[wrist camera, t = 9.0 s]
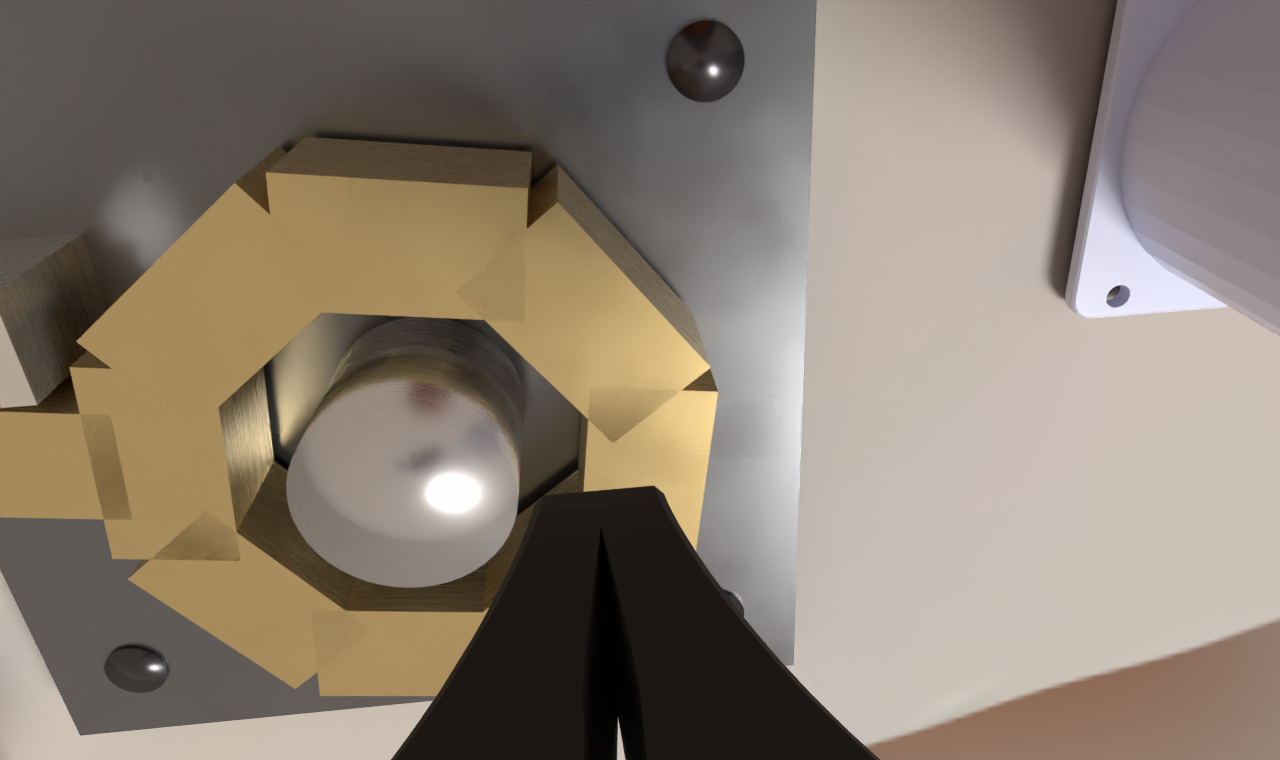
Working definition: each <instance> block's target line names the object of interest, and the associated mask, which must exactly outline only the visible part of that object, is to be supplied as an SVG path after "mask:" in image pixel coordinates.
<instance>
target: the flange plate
mask: <svg viewBox="0 0 1280 760" xmlns="http://www.w3.org/2000/svg"><path fill="white" fill-rule="evenodd" d="M815 28H816V0H0V408H8V407H20V406H32V405H38V404H39V403H40V402H41V401H42V400H43V399H44V398H45V397H46V396H48V395H49V394H50V393H51V392H52V391H53V390H54V389H55V388H56V387H57V386H58V385H59V384H60V383H61V382H62V381H64V380H65V379H66V378H67V377H68V376H69V375H70V374H71V372H70V368H69V367H70V366H71V365H72V364H73V363H75V362H76V361H77V360H78V359H79V358H80V357H81V356H82V355H83V354H84V353H85V352H86V351H88V350H86V349H85V348H84V347H82V346H81V345H80V344H78V343H77V342H76V341H77V340H78V339H79V338H80V337H81V336H82V335H83V334H84V333H85V332H86V331H87V330H88V329H89V328H90V327H91V326H92V325H93V324H94V323H95V322H96V321H97V320H98V319H99V318H100V317H101V316H102V315H103V314H104V313H105V312H106V311H107V310H108V309H109V308H110V307H111V306H112V305H113V304H114V303H115V302H116V301H117V300H118V299H119V298H120V297H121V296H122V295H123V294H124V293H125V292H126V291H127V290H128V289H129V288H130V287H131V286H132V285H133V284H134V283H135V282H136V281H137V280H138V279H139V278H140V277H141V276H142V275H143V274H144V273H145V272H146V271H147V270H148V269H149V268H150V267H151V266H152V265H153V264H154V263H155V262H156V261H157V260H158V259H159V258H160V257H161V256H162V255H163V254H164V253H165V252H166V251H167V250H168V249H169V248H170V247H171V246H172V245H173V244H174V243H175V242H176V241H177V240H178V239H179V238H180V237H181V236H182V235H183V234H184V233H185V232H186V231H187V230H188V229H189V228H190V227H191V226H192V225H193V224H194V223H195V222H196V221H197V220H198V219H199V218H200V217H201V216H202V215H203V214H204V213H205V212H206V211H207V210H208V209H209V208H210V207H211V206H212V205H213V204H214V203H215V202H216V201H217V200H218V199H219V198H220V197H221V196H222V195H223V194H224V193H225V192H226V191H227V190H228V189H229V188H230V187H231V186H232V185H233V184H234V183H235V182H236V181H237V180H239V179H240V178H241V177H242V176H243V175H245V174H246V173H247V172H248V171H250V170H251V169H252V168H253V167H254V166H256V165H257V164H258V163H259V162H261V161H262V160H263V159H264V158H265V157H267V156H268V155H269V154H270V153H271V152H273V151H274V150H275V149H276V148H278V147H279V146H280V147H281V148H282V149H283V150H284V151H285V152H286V153H288V152H290V151H291V150H292V149H293V148H294V147H295V146H296V145H298V144H299V143H300V142H301V141H302V140H303V139H304V138H306V137H314V138H330V139H345V140H360V141H375V142H390V143H406V144H421V145H436V146H451V147H466V148H482V149H497V150H512V151H527V152H532V172H531V188H532V187H533V186H534V185H535V184H536V183H537V182H538V181H539V180H541V179H542V178H543V177H544V176H545V175H546V174H547V173H548V172H550V171H551V170H552V169H553V168H554V167H555V166H556V165H557V164H558V165H559V166H560V167H561V168H562V169H563V170H564V171H565V172H566V174H567V175H568V176H569V177H570V178H571V179H572V180H573V181H574V182H575V183H576V185H577V186H578V187H579V188H580V189H581V190H582V191H583V192H584V193H585V195H586V196H587V197H588V198H589V199H590V200H591V201H592V202H593V203H594V204H595V206H596V207H597V208H598V209H599V210H600V211H601V212H602V213H603V214H604V216H605V217H606V218H607V219H608V220H609V221H610V222H611V223H612V224H613V225H614V227H615V228H616V229H617V230H618V231H619V232H620V233H621V234H622V235H623V237H624V238H625V239H626V240H627V241H628V242H629V243H630V244H631V245H632V246H633V248H634V249H635V250H636V251H637V252H638V253H639V254H640V255H641V256H642V258H643V259H644V260H645V261H646V262H647V263H648V264H649V265H650V266H651V267H652V269H653V270H654V271H655V272H656V273H657V274H658V275H659V276H660V277H661V279H662V280H663V281H664V282H665V283H666V284H667V285H668V286H669V287H670V288H671V290H672V291H673V292H674V293H675V294H676V295H677V296H678V297H679V298H680V300H681V301H682V302H683V303H684V304H685V305H686V306H687V307H688V308H689V309H690V311H691V312H692V313H693V316H694V319H695V322H696V325H697V328H698V331H699V334H700V337H701V340H702V343H703V346H704V349H705V352H706V355H707V358H708V361H709V364H710V367H711V368H710V369H711V372H712V375H713V378H714V381H715V384H716V387H717V390H718V396H717V403H716V411H715V418H714V425H713V432H712V439H711V446H710V454H709V461H708V468H707V475H706V482H705V490H704V497H703V504H702V511H701V518H700V525H699V533H698V540H697V547H696V552H697V554H698V555H699V557H700V558H701V560H702V561H703V563H704V564H705V566H706V567H707V568H708V570H709V571H710V573H711V574H712V576H713V577H714V578H715V580H716V581H717V582H718V584H719V585H720V586H721V588H722V589H723V590H724V592H725V593H726V594H727V596H728V597H729V598H730V600H731V601H732V602H733V604H734V605H735V606H736V608H737V609H738V610H739V612H740V613H741V614H742V615H743V617H744V618H745V619H746V620H747V622H748V623H749V624H750V625H751V627H752V628H753V629H754V630H755V632H756V633H757V634H758V635H759V636H760V637H761V639H762V640H763V641H764V642H765V643H766V644H767V646H768V647H769V648H770V649H771V650H772V651H773V653H774V654H775V655H776V656H777V657H778V658H779V659H780V661H781V662H782V663H783V664H784V665H785V666H787V665H793V661H794V632H795V603H796V574H797V546H798V517H799V488H800V459H801V431H802V402H803V373H804V344H805V316H806V287H807V258H808V229H809V201H810V172H811V143H812V114H813V86H814V57H815ZM263 369H264V378H265V386H266V395H267V403H268V412H269V420H270V429H271V438H272V446H273V455H274V461H275V462H277V463H278V464H279V465H281V466H282V467H283V468H284V469H286V470H287V471H288V474H287V481H286V493H287V501H288V506H289V510H290V513H291V515H292V518H293V521H294V523H295V525H296V526H297V528H298V530H299V532H300V533H301V535H302V536H303V538H304V539H305V540H306V542H307V543H308V544H309V545H310V546H311V547H312V548H313V549H314V550H315V551H316V552H317V553H318V554H319V555H320V556H321V557H322V558H324V559H325V560H326V561H327V562H329V563H330V564H332V565H333V566H335V567H337V568H338V569H340V570H342V571H344V572H346V573H348V574H350V575H352V576H354V577H357V578H359V579H362V580H365V581H368V582H372V583H376V584H379V585H385V586H392V587H405V588H413V587H427V586H434V585H439V584H443V583H447V582H450V581H453V580H456V579H458V578H461V577H463V576H465V575H467V574H469V573H471V572H473V571H475V570H476V569H478V568H479V567H481V566H482V565H484V564H485V563H486V562H487V561H488V560H490V559H491V558H492V557H493V556H494V555H495V554H496V553H497V552H498V550H499V549H500V548H501V547H502V546H503V544H504V543H505V541H506V539H507V538H508V536H509V534H510V532H511V530H512V528H513V525H514V522H515V518H516V517H517V516H518V515H519V514H521V513H522V512H523V511H524V510H526V509H527V508H528V507H530V506H531V505H532V504H533V503H535V502H536V501H537V500H539V499H540V498H541V497H543V496H544V495H545V494H546V493H548V492H549V491H550V490H552V489H553V488H554V487H555V486H557V485H558V484H559V483H561V482H562V481H563V480H564V479H566V478H567V477H568V476H570V475H571V474H572V473H574V472H575V471H576V470H577V469H578V460H579V445H580V429H581V412H580V411H579V410H578V409H577V408H576V407H575V406H574V405H573V404H572V403H570V402H569V401H568V400H567V399H566V398H565V397H564V396H563V395H562V394H561V393H560V392H559V391H558V390H557V389H556V388H555V387H554V386H553V385H552V384H551V383H550V382H549V381H548V380H546V379H545V378H544V377H543V376H542V375H541V374H540V373H539V372H538V371H537V370H536V369H535V368H534V367H533V366H532V365H531V364H530V363H529V362H528V361H527V360H526V359H525V358H524V357H523V356H521V355H520V354H519V353H518V352H517V351H516V350H515V349H514V348H513V347H512V346H511V345H510V344H509V343H508V342H507V341H506V340H505V339H504V338H503V337H502V336H501V335H500V334H499V333H497V332H496V331H495V330H494V329H493V328H492V327H491V326H490V325H489V324H488V323H487V322H486V321H485V320H475V319H453V318H431V317H408V316H386V315H364V314H342V313H321V314H320V315H318V316H317V317H316V318H315V319H314V320H313V321H312V322H311V323H310V324H309V325H308V326H306V327H305V328H304V329H303V330H302V331H301V332H300V333H299V334H298V335H297V336H295V337H294V338H293V339H292V340H291V341H290V342H289V343H288V344H287V345H286V346H285V347H283V348H282V349H281V350H280V351H279V352H278V353H277V354H276V355H275V356H274V357H273V358H271V359H270V360H269V361H268V362H267V363H266V364H265V365H264V366H263ZM140 560H141V559H112V555H111V550H110V546H109V541H108V537H107V533H106V528H105V524H104V519H57V518H8V517H0V570H1V572H2V574H3V576H4V578H5V580H6V582H7V584H8V586H9V588H10V590H11V592H12V594H13V597H14V599H15V601H16V603H17V605H18V607H19V609H20V611H21V613H22V615H23V617H24V619H25V621H26V624H27V626H28V628H29V630H30V632H31V634H32V636H33V638H34V640H35V642H36V644H37V646H38V648H39V651H40V653H41V655H42V657H43V659H44V661H45V663H46V665H47V667H48V669H49V671H50V673H51V676H52V678H53V680H54V682H55V684H56V686H57V688H58V690H59V692H60V694H61V696H62V698H63V700H64V703H65V705H66V707H67V709H68V711H69V713H70V715H71V717H72V719H73V721H74V723H75V725H76V727H77V730H78V732H79V734H80V735H90V734H100V733H110V732H120V731H130V730H140V729H151V728H161V727H171V726H181V725H191V724H201V723H211V722H221V721H231V720H241V719H252V718H262V717H272V716H282V715H292V714H302V713H312V712H322V711H332V710H342V709H352V708H363V707H373V706H383V705H393V704H403V703H413V702H423V701H433V700H434V699H435V697H436V696H320V691H319V682H318V672H317V673H316V674H314V675H313V676H312V677H311V678H309V679H308V680H307V681H305V682H304V683H303V684H301V685H300V686H299V687H298V688H296V689H294V688H293V687H291V686H290V685H288V684H287V683H285V682H284V681H282V680H281V679H279V678H278V677H276V676H274V675H273V674H271V673H270V672H268V671H267V670H265V669H264V668H262V667H261V666H259V665H258V664H256V663H255V662H253V661H252V660H250V659H249V658H247V657H245V656H244V655H242V654H241V653H239V652H238V651H236V650H235V649H233V648H232V647H230V646H229V645H227V644H226V643H224V642H223V641H221V640H220V639H218V638H216V637H215V636H213V635H212V634H210V633H209V632H207V631H206V630H204V629H203V628H201V627H200V626H198V625H197V624H195V623H194V622H192V621H191V620H189V619H187V618H186V617H184V616H183V615H181V614H180V613H178V612H177V611H175V610H174V609H172V608H171V607H169V606H168V605H166V604H165V603H163V602H162V601H160V600H159V599H157V598H155V597H154V596H152V595H151V594H149V593H148V592H146V591H145V590H143V589H142V588H140V587H139V586H137V585H136V584H134V583H133V582H131V581H130V580H128V578H129V577H130V575H131V574H132V572H133V570H134V569H135V567H136V566H137V564H138V563H139V561H140Z"/></svg>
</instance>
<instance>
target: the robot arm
mask: <svg viewBox="0 0 1280 760" xmlns="http://www.w3.org/2000/svg"><path fill="white" fill-rule="evenodd" d="M1119 285H1120V290H1119V292H1118V294H1117V295H1116V296H1115V297H1114V298H1113V299H1111V300H1108V301H1106V297H1107V295H1108V292H1109V291H1110V290H1111V289H1112V288H1114V287H1116V286H1119ZM1065 296H1066V303H1067V305H1068V307H1069V309H1071V310H1072V311H1073V312H1075V313H1076V314H1077V315H1079V316H1081V317H1082V318H1103V317H1115V316H1127V315H1139V314H1151V313H1163V312H1175V311H1188V310H1200V309H1212V308H1224V307H1231V308H1232V309H1234V310H1236V311H1238V312H1239V313H1241V314H1243V315H1244V316H1246V317H1248V318H1250V319H1251V320H1253V321H1255V322H1256V323H1258V324H1260V325H1262V326H1263V327H1265V328H1267V329H1268V330H1270V331H1272V332H1274V333H1275V334H1277V335H1279V336H1280V0H1117V6H1116V12H1115V17H1114V23H1113V29H1112V34H1111V40H1110V46H1109V51H1108V57H1107V63H1106V68H1105V74H1104V79H1103V85H1102V91H1101V96H1100V102H1099V108H1098V113H1097V119H1096V125H1095V130H1094V136H1093V141H1092V147H1091V153H1090V158H1089V164H1088V170H1087V175H1086V181H1085V187H1084V192H1083V198H1082V204H1081V209H1080V215H1079V220H1078V226H1077V232H1076V237H1075V243H1074V249H1073V254H1072V260H1071V266H1070V271H1069V277H1068V282H1067V288H1066V294H1065ZM618 719H619V725H620V730H621V736H622V742H623V748H624V753H625V759H626V760H880V759H879V758H878V757H876V756H875V755H874V754H873V753H872V752H871V751H870V750H869V749H868V748H867V747H866V746H864V745H863V744H862V743H861V742H860V741H859V740H858V739H857V738H856V737H855V736H853V735H852V734H851V733H850V732H849V731H848V730H847V729H846V728H845V727H844V726H843V725H842V724H841V723H840V722H839V721H838V720H837V719H836V718H835V717H834V716H833V715H832V714H831V713H830V712H829V711H828V710H827V709H826V708H825V707H824V706H823V705H822V704H821V703H820V702H819V701H818V700H817V699H816V698H815V697H814V696H813V695H812V694H811V693H810V692H809V691H808V690H807V689H806V688H805V687H804V686H803V685H802V684H801V683H800V682H799V680H798V679H797V678H796V677H795V676H794V675H793V674H792V673H791V672H790V671H789V670H788V668H787V667H786V666H785V665H784V664H783V663H782V662H781V661H780V659H779V658H778V657H777V656H776V655H775V654H774V653H773V651H772V650H771V649H770V648H769V647H768V646H767V644H766V643H765V642H764V641H763V640H762V639H761V637H760V636H759V635H758V634H757V633H756V632H755V630H754V629H753V628H752V627H751V625H750V624H749V623H748V622H747V620H746V619H745V618H744V617H743V615H742V614H741V613H740V612H739V610H738V609H737V608H736V606H735V605H734V604H733V602H732V601H731V600H730V598H729V597H728V596H727V594H726V593H725V592H724V590H723V589H722V588H721V586H720V585H719V584H718V582H717V581H716V580H715V578H714V577H713V576H712V574H711V573H710V571H709V570H708V568H707V567H706V566H705V564H704V563H703V561H702V560H701V558H700V557H699V555H698V554H697V552H696V551H695V549H694V547H693V546H692V544H691V543H690V541H689V540H688V538H687V537H686V535H685V533H684V532H683V530H682V528H681V526H680V525H679V523H678V521H677V519H676V518H675V516H674V514H673V512H672V510H671V508H670V506H669V504H668V502H667V499H666V497H665V494H664V493H663V492H661V491H660V490H659V489H658V488H657V487H655V486H643V487H632V488H620V489H609V490H598V491H587V492H575V493H564V494H553V495H544V496H543V497H542V498H541V499H540V500H539V501H538V502H537V503H536V504H535V506H534V509H533V512H532V516H531V519H530V521H529V524H528V527H527V529H526V532H525V535H524V537H523V539H522V542H521V544H520V546H519V549H518V551H517V553H516V555H515V558H514V560H513V562H512V564H511V566H510V568H509V570H508V573H507V575H506V577H505V579H504V581H503V582H502V584H501V586H500V588H499V590H498V592H497V594H496V596H495V598H494V600H493V601H492V603H491V605H490V607H489V609H488V611H487V613H486V615H485V617H484V619H483V620H482V622H481V624H480V626H479V628H478V629H477V631H476V633H475V635H474V636H473V638H472V640H471V641H470V643H469V644H468V646H467V648H466V649H465V651H464V653H463V654H462V656H461V657H460V659H459V661H458V662H457V664H456V666H455V667H454V669H453V670H452V672H451V674H450V675H449V677H448V678H447V680H446V682H445V683H444V685H443V687H442V688H441V690H440V691H439V693H438V694H437V696H436V697H435V699H434V700H433V702H432V703H431V705H430V706H429V708H428V709H427V711H426V712H425V714H424V715H423V716H422V718H421V719H420V721H419V722H418V724H417V725H416V726H415V728H414V729H413V731H412V732H411V733H410V735H409V736H408V738H407V739H406V740H405V742H404V743H403V744H402V746H401V747H400V748H399V750H398V751H397V752H396V754H395V755H394V756H393V758H392V759H391V760H617V733H618Z"/></svg>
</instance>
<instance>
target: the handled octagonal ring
mask: <svg viewBox="0 0 1280 760" xmlns="http://www.w3.org/2000/svg"><path fill="white" fill-rule="evenodd" d="M531 172H532V152H527V151H512V150H497V149H482V148H466V147H451V146H436V145H421V144H406V143H390V142H375V141H360V140H345V139H330V138H314V137H306V138H304V139H303V140H302V141H301V142H300V143H299V144H298V145H296V146H295V147H294V148H293V149H292V150H291V151H290V152H288V153H286V152H285V151H284V150H283V149H282V148H281V147H280V146H279V147H278V148H276V149H275V150H274V151H273V152H271V153H270V154H269V155H268V156H267V157H265V158H264V159H263V160H262V161H261V162H259V163H258V164H257V165H256V166H254V167H253V168H252V169H251V170H250V171H248V172H247V173H246V174H245V175H243V176H242V177H241V178H240V179H239V180H237V181H236V182H235V183H234V184H233V185H232V186H231V187H230V188H229V189H228V190H227V191H226V192H225V193H224V194H223V195H222V196H221V197H220V198H219V199H218V200H217V201H216V202H215V203H214V204H213V205H212V206H211V207H210V208H209V209H208V210H207V211H206V212H205V213H204V214H203V215H202V216H201V217H200V218H199V219H198V220H197V221H196V222H195V223H194V224H193V225H192V226H191V227H190V228H189V229H188V230H187V231H186V232H185V233H184V234H183V235H182V236H181V237H180V238H179V239H178V240H177V241H176V242H175V243H174V244H173V245H172V246H171V247H170V248H169V249H168V250H167V251H166V252H165V253H164V254H163V255H162V256H161V257H160V258H159V259H158V260H157V261H156V262H155V263H154V264H153V265H152V266H151V267H150V268H149V269H148V270H147V271H146V272H145V273H144V274H143V275H142V276H141V277H140V278H139V279H138V280H137V281H136V282H135V283H134V284H133V285H132V286H131V287H130V288H129V289H128V290H127V291H126V292H125V293H124V294H123V295H122V296H121V297H120V298H119V299H118V300H117V301H116V302H115V303H114V304H113V305H112V306H111V307H110V308H109V309H108V310H107V311H106V312H105V313H104V314H103V315H102V316H101V317H100V318H99V319H98V320H97V321H96V322H95V323H94V324H93V325H92V326H91V327H90V328H89V329H88V330H87V331H86V332H85V333H84V334H83V335H82V336H81V337H80V338H79V339H78V340H77V341H76V342H77V343H78V344H80V345H81V346H82V347H84V348H85V349H86V350H88V351H86V352H85V353H84V354H83V355H82V356H81V357H80V358H79V359H78V360H77V361H76V362H75V363H73V364H72V365H71V366H70V367H69V368H70V372H71V374H70V375H69V376H68V377H67V378H66V379H65V380H64V381H62V382H61V383H60V384H59V385H58V386H57V387H56V388H55V389H54V390H53V391H52V392H51V393H50V394H49V395H48V396H46V397H45V398H44V399H43V400H42V401H41V402H40V403H39V404H38V405H32V406H20V407H8V408H0V517H8V518H57V519H104V524H105V528H106V533H107V537H108V541H109V546H110V550H111V555H112V559H141V560H140V561H139V563H138V564H137V566H136V567H135V569H134V570H133V572H132V574H131V575H130V577H129V578H128V580H130V581H131V582H133V583H134V584H136V585H137V586H139V587H140V588H142V589H143V590H145V591H146V592H148V593H149V594H151V595H152V596H154V597H155V598H157V599H159V600H160V601H162V602H163V603H165V604H166V605H168V606H169V607H171V608H172V609H174V610H175V611H177V612H178V613H180V614H181V615H183V616H184V617H186V618H187V619H189V620H191V621H192V622H194V623H195V624H197V625H198V626H200V627H201V628H203V629H204V630H206V631H207V632H209V633H210V634H212V635H213V636H215V637H216V638H218V639H220V640H221V641H223V642H224V643H226V644H227V645H229V646H230V647H232V648H233V649H235V650H236V651H238V652H239V653H241V654H242V655H244V656H245V657H247V658H249V659H250V660H252V661H253V662H255V663H256V664H258V665H259V666H261V667H262V668H264V669H265V670H267V671H268V672H270V673H271V674H273V675H274V676H276V677H278V678H279V679H281V680H282V681H284V682H285V683H287V684H288V685H290V686H291V687H293V688H294V689H296V688H298V687H299V686H300V685H301V684H303V683H304V682H305V681H307V680H308V679H309V678H311V677H312V676H313V675H314V674H316V673H317V672H318V682H319V691H320V696H437V694H438V693H439V691H440V690H441V688H442V687H443V685H444V683H445V682H446V680H447V678H448V677H449V675H450V674H451V672H452V670H453V669H454V667H455V666H456V664H457V662H458V661H459V659H460V657H461V656H462V654H463V653H464V651H465V649H466V648H467V646H468V644H469V643H470V641H471V640H472V638H473V636H474V635H475V633H476V631H477V629H478V628H479V626H480V624H481V622H482V620H483V619H484V617H485V615H486V613H487V611H488V609H489V607H490V605H491V603H492V601H493V600H494V598H495V596H496V594H497V592H498V590H499V588H500V586H501V584H502V582H503V581H504V579H505V577H506V575H507V573H508V570H509V568H510V566H511V564H512V562H513V560H514V558H515V555H516V553H517V551H518V549H519V546H520V544H521V542H522V539H523V537H524V535H525V532H526V529H527V527H528V524H529V521H530V519H531V516H532V512H533V509H534V506H535V504H536V503H537V502H538V501H539V500H540V499H541V498H542V497H541V498H540V499H539V500H537V501H536V502H535V503H533V504H532V505H531V506H530V507H528V508H527V509H526V510H524V511H523V512H522V513H521V514H519V515H518V516H517V517H516V518H515V522H514V525H513V528H512V530H511V532H510V534H509V536H508V538H507V539H506V541H505V543H504V544H503V546H502V547H501V548H500V549H499V550H498V552H497V553H496V554H495V555H494V556H493V557H492V558H491V559H490V560H488V561H487V562H486V563H485V564H484V565H482V566H481V567H479V568H478V569H476V570H475V571H473V572H471V573H469V574H467V575H465V576H463V577H461V578H458V579H456V580H453V581H450V582H447V583H443V584H439V585H434V586H427V587H413V588H405V587H392V586H385V585H379V584H376V583H372V582H368V581H365V580H362V579H359V578H357V577H354V576H352V575H350V574H348V573H346V572H344V571H342V570H340V569H338V568H337V567H335V566H333V565H332V564H330V563H329V562H327V561H326V560H325V559H324V558H322V557H321V556H320V555H319V554H318V553H317V552H316V551H315V550H314V549H313V548H312V547H311V546H310V545H309V544H308V543H307V542H306V540H305V539H304V538H303V536H302V535H301V533H300V532H299V530H298V528H297V526H296V525H295V523H294V521H293V518H292V515H291V513H290V510H289V506H288V501H287V493H286V481H287V474H288V471H287V470H286V469H284V468H283V467H282V466H281V465H279V464H278V463H277V462H275V461H274V455H273V446H272V438H271V429H270V420H269V412H268V403H267V395H266V386H265V378H264V369H263V366H264V365H265V364H266V363H267V362H268V361H269V360H270V359H271V358H273V357H274V356H275V355H276V354H277V353H278V352H279V351H280V350H281V349H282V348H283V347H285V346H286V345H287V344H288V343H289V342H290V341H291V340H292V339H293V338H294V337H295V336H297V335H298V334H299V333H300V332H301V331H302V330H303V329H304V328H305V327H306V326H308V325H309V324H310V323H311V322H312V321H313V320H314V319H315V318H316V317H317V316H318V315H320V314H321V313H342V314H364V315H386V316H408V317H431V318H453V319H475V320H485V321H486V322H487V323H488V324H489V325H490V326H491V327H492V328H493V329H494V330H495V331H496V332H497V333H499V334H500V335H501V336H502V337H503V338H504V339H505V340H506V341H507V342H508V343H509V344H510V345H511V346H512V347H513V348H514V349H515V350H516V351H517V352H518V353H519V354H520V355H521V356H523V357H524V358H525V359H526V360H527V361H528V362H529V363H530V364H531V365H532V366H533V367H534V368H535V369H536V370H537V371H538V372H539V373H540V374H541V375H542V376H543V377H544V378H545V379H546V380H548V381H549V382H550V383H551V384H552V385H553V386H554V387H555V388H556V389H557V390H558V391H559V392H560V393H561V394H562V395H563V396H564V397H565V398H566V399H567V400H568V401H569V402H570V403H572V404H573V405H574V406H575V407H576V408H577V409H578V410H579V411H580V412H581V429H580V445H579V460H578V469H577V470H576V471H575V472H574V473H572V474H571V475H570V476H568V477H567V478H566V479H564V480H563V481H562V482H561V483H559V484H558V485H557V486H555V487H554V488H553V489H552V490H550V491H549V492H548V493H546V494H545V495H553V494H564V493H575V492H587V491H598V490H609V489H620V488H632V487H643V486H655V487H657V488H658V489H659V490H660V491H661V492H663V493H664V494H665V497H666V499H667V502H668V504H669V506H670V508H671V510H672V512H673V514H674V516H675V518H676V519H677V521H678V523H679V525H680V526H681V528H682V530H683V532H684V533H685V535H686V537H687V538H688V540H689V541H690V543H691V544H692V546H693V547H694V549H695V551H696V547H697V540H698V533H699V525H700V518H701V511H702V504H703V497H704V490H705V482H706V475H707V468H708V461H709V454H710V446H711V439H712V432H713V425H714V418H715V411H716V403H717V396H718V390H717V387H716V384H715V381H714V378H713V375H712V372H711V369H710V368H711V367H710V364H709V361H708V358H707V355H706V352H705V349H704V346H703V343H702V340H701V337H700V334H699V331H698V328H697V325H696V322H695V319H694V316H693V313H692V312H691V311H690V309H689V308H688V307H687V306H686V305H685V304H684V303H683V302H682V301H681V300H680V298H679V297H678V296H677V295H676V294H675V293H674V292H673V291H672V290H671V288H670V287H669V286H668V285H667V284H666V283H665V282H664V281H663V280H662V279H661V277H660V276H659V275H658V274H657V273H656V272H655V271H654V270H653V269H652V267H651V266H650V265H649V264H648V263H647V262H646V261H645V260H644V259H643V258H642V256H641V255H640V254H639V253H638V252H637V251H636V250H635V249H634V248H633V246H632V245H631V244H630V243H629V242H628V241H627V240H626V239H625V238H624V237H623V235H622V234H621V233H620V232H619V231H618V230H617V229H616V228H615V227H614V225H613V224H612V223H611V222H610V221H609V220H608V219H607V218H606V217H605V216H604V214H603V213H602V212H601V211H600V210H599V209H598V208H597V207H596V206H595V204H594V203H593V202H592V201H591V200H590V199H589V198H588V197H587V196H586V195H585V193H584V192H583V191H582V190H581V189H580V188H579V187H578V186H577V185H576V183H575V182H574V181H573V180H572V179H571V178H570V177H569V176H568V175H567V174H566V172H565V171H564V170H563V169H562V168H561V167H560V166H559V165H558V164H557V165H556V166H555V167H554V168H553V169H552V170H551V171H550V172H548V173H547V174H546V175H545V176H544V177H543V178H542V179H541V180H539V181H538V182H537V183H536V184H535V185H534V186H533V187H532V188H531Z"/></svg>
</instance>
